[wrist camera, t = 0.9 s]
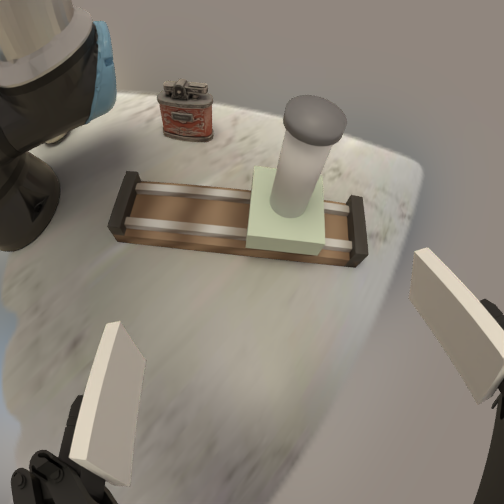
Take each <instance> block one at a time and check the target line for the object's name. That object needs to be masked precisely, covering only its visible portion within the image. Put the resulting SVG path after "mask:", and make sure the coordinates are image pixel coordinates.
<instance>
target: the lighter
mask: <svg viewBox="0 0 504 504" xmlns="http://www.w3.org/2000/svg"><path fill="white" fill-rule="evenodd" d="M163 85H164V90H163V91H161V92H160V93H159V94H158V95H157V100H158V103H159V104H160V110H161V116H162V121H163V133H164V135H165V136H166V137H169V138H172V139H176V140H182V141H189V142H208V141H210V140H212V138H213V129H212V104H213V96H212V95H211V94H208V93H207V92H208V85H206V84H205V83H196V82H191V83H190V82H187V81H186V80H185V79H179V80H178V81H166V82H165V83H164V84H163Z"/></svg>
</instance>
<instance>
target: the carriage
mask: <svg viewBox="0 0 504 504" xmlns="http://www.w3.org/2000/svg"><path fill="white" fill-rule="evenodd" d="M283 123H284V126H285V128H286V132H285V136H284V140H283V145H282V149H281V153H280V158H279V162H278V166H277V169H276V168H268V167H260V166H254V172H253V180H252V189H251V198H250V208H249V218H248V228H247V237H246V247H245V248H252V249H261V250H270V251H280V252H289V253H298V254H307V255H316V256H318V254H319V253H320V251H321V250H322V248H323V247H324V245H325V219H324V196H323V178H322V175H320V174H321V172H322V169H323V167H324V165H325V162H326V160H327V157H328V155H329V153H330V150H331V148H332V145H333V144H335V143H337V142H338V141H339V140H340V139H341V137H342V135H343V132H344V130H345V127H346V125H347V119H346V117H345V114H344V113H343V111H342V110H341V109H340V108H339V107H338V106H337V105H335V104H334V103H332V102H330V101H329V100H326V99H324V98H321V97H317V96H312V95H302V96H297V97H294V98H292V99H291V100H289V102H288V103H287V105H286V108H285V113H284V118H283Z"/></svg>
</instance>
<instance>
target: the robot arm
mask: <svg viewBox="0 0 504 504" xmlns="http://www.w3.org/2000/svg"><path fill="white" fill-rule="evenodd" d="M112 53H113V52H112V44H111V38H110V33H109V29H108V26H107V24H106V22H104V21H95V22H92V17H91V15H90V14H89V13H88V12H87V11H86V10H84V9H82V8H77V7H73V5H72V1H71V0H0V250H2V251H7V252H8V251H15V250H18V249H21V248H23V247H24V246H26V245H28V244H29V243H31V242H32V241H33V240H34V239H35V238H36V237H37V236H38V235H39V234H40V233H41V232H42V231H43V230H44V228H45V227H46V226H47V224H48V223H49V221H50V220H51V218H52V216H53V214H54V212H55V210H56V207H57V204H58V200H59V195H60V185H59V181H58V178H57V176H56V175H55V173H54V172H53V170H52V169H51V167H50V166H49V165H48V164H47V163H45V162H44V161H42V160H41V159H39V158H38V157H36V156H34V155H33V154H31V153H30V152H28V151H29V150H31V149H33V148H35V147H37V146H39V145H41V144H43V143H45V142H47V141H49V140H51V139H53V138H55V137H57V136H59V135H61V134H64V133H66V132H68V131H70V130H72V129H75V128H77V127H79V126H82V125H84V124H88V123H89V122H90V121H91V120H93V119H95V118H97V117H99V116H101V115H103V114H106V113H107V112H109V111H110V110H111V109H112V108H113V106H114V104H115V102H116V76H115V67H114V63H113V54H112ZM409 300H410V301H411V303H412V304H413V305H414V307H415V308H416V309H417V311H418V312H419V314H420V315H421V317H422V318H423V319H424V321H425V322H426V324H427V325H428V327H429V328H430V330H431V331H432V333H433V334H434V335H435V337H436V338H437V340H438V341H439V343H440V344H441V346H442V347H443V349H444V351H445V352H446V353H447V355H448V357H449V358H450V360H451V361H452V363H453V365H454V366H455V367H456V369H457V371H458V372H459V374H460V376H461V377H462V379H463V381H464V382H465V384H466V386H467V387H468V389H469V391H470V392H471V394H472V396H473V398H474V399H475V401H476V403H477V405H479V404H481V403H482V402H484V401H485V400H487V399H489V398H490V397H492V396H493V394H494V393H495V391H496V390H497V388H498V389H499V391H500V392H501V393H500V395H499V396H498V397H497V399H496V400H495V401H494V403H493V405H492V409H493V408H494V407H495V406H496V405H497V403H498V406H497V412H496V419H495V425H494V430H493V435H492V440H491V445H490V449H489V453H488V458H487V461H486V465H485V469H484V472H483V476H482V479H481V482H480V486H479V489H478V492H477V495H476V498H475V501H474V504H504V315H503V313H502V312H501V311H500V310H499V309H498V308H497V306H496V305H495V304H493V303H491V302H490V301H488V300H486V299H483V300H481V301H478V300H477V298H476V297H475V296H474V295H473V294H472V293H471V292H470V291H469V290H468V288H467V287H466V286H465V285H464V284H463V283H462V282H461V281H460V280H459V279H458V278H457V277H456V276H455V275H454V273H453V272H452V271H450V269H449V268H448V267H447V266H446V265H445V264H444V263H443V262H442V261H441V260H440V259H439V258H438V257H437V256H436V255H435V254H434V253H433V252H432V251H431V250H430V249H429V248H424V249H421V250H417V251H415V252H414V258H413V268H412V278H411V286H410V293H409ZM145 366H146V359H145V358H144V356H143V355H142V354H141V352H140V351H139V349H138V348H137V346H136V345H135V343H134V341H133V340H132V338H131V337H130V335H129V334H128V332H127V331H126V329H125V327H124V326H123V324H122V323H121V321H118V322H112V323H107V324H106V326H105V329H104V332H103V335H102V338H101V341H100V344H99V347H98V350H97V353H96V356H95V359H94V362H93V366H92V369H91V372H90V375H89V379H88V382H87V386H86V389H85V393H84V395H78V396H77V398H76V399H75V401H74V402H73V404H72V405H71V409H70V413H69V418H68V420H67V424H66V425H67V427H66V428H65V432H64V436H63V440H62V444H61V449H60V453H59V457H56V456H55V455H53V454H52V453H50V452H49V451H47V450H40V451H37V452H36V453H35V454H34V455H33V456H32V458H31V460H30V465H29V469H30V471H28V470H26V469H24V468H19V469H17V470H15V472H14V473H13V475H12V478H11V488H12V495H13V501H14V504H118V503H117V501H116V500H115V499H114V497H113V496H112V494H111V493H110V491H109V490H108V489H107V488H106V487H105V481H107V482H109V483H111V484H113V485H117V486H129V487H130V483H131V471H132V461H133V451H134V442H135V433H136V425H137V418H138V410H139V403H140V397H141V390H142V384H143V378H144V372H145Z"/></svg>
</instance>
